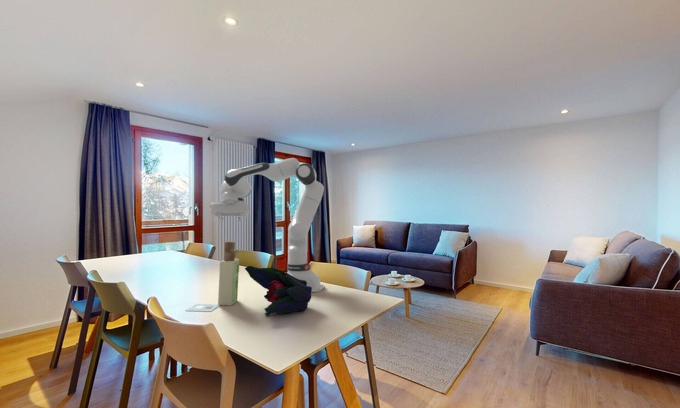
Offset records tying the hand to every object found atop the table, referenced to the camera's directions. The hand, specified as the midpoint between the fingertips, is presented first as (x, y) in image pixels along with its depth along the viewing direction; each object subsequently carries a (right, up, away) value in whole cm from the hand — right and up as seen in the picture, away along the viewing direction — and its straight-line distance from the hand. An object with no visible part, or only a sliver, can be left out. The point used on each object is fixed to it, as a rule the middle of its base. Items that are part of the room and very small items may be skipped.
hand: (230, 220), depth 162 cm
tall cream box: (+5, -39, -17) cm, 44 cm away
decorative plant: (+32, -40, -29) cm, 59 cm away
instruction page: (-4, -39, -24) cm, 46 cm away
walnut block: (+5, -18, -17) cm, 26 cm away
